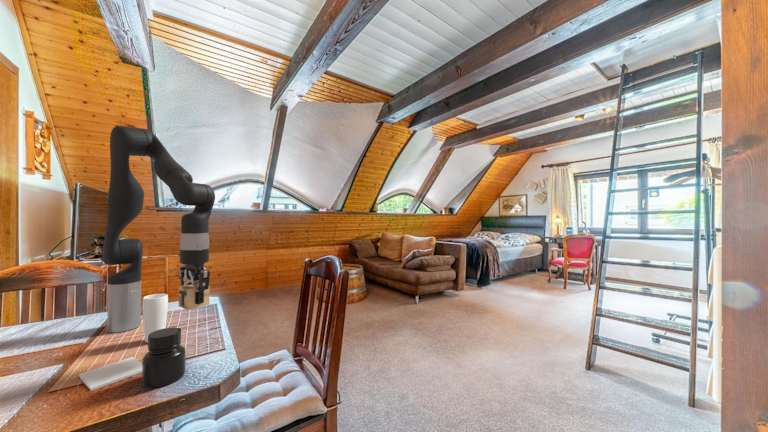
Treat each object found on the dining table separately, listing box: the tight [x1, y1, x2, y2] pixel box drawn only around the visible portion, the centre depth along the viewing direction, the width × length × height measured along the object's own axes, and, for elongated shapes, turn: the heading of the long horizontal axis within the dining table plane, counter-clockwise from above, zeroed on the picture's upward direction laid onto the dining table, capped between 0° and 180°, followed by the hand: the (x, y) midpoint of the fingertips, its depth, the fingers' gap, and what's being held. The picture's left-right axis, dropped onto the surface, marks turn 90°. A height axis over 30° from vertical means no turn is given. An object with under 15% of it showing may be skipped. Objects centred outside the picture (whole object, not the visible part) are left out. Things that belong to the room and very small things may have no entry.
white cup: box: [141, 293, 169, 344], centre depth 95 cm, size 7×7×15 cm
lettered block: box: [178, 284, 211, 311], centre depth 87 cm, size 6×7×6 cm
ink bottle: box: [141, 326, 186, 389], centre depth 73 cm, size 10×9×12 cm
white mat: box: [78, 356, 142, 392], centre depth 75 cm, size 11×11×1 cm
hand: (194, 301), depth 87 cm, fingers closed on lettered block, 6 cm apart
